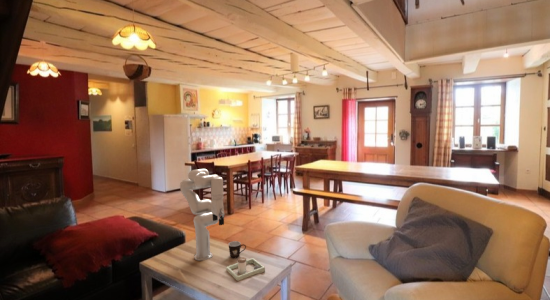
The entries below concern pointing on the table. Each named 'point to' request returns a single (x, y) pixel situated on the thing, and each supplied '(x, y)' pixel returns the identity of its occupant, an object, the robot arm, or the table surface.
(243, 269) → the cylinder
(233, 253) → the coffee mug
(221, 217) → the robot arm
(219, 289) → the table surface
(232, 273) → the tray frame
